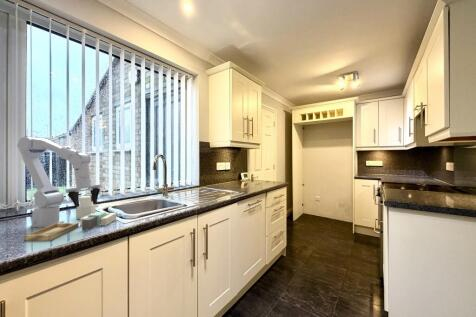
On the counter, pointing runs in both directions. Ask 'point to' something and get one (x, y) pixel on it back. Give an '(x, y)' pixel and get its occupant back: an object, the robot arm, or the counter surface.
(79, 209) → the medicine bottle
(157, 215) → the counter surface
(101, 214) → the gray green block
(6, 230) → the counter surface
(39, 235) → the tray
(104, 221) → the bay
